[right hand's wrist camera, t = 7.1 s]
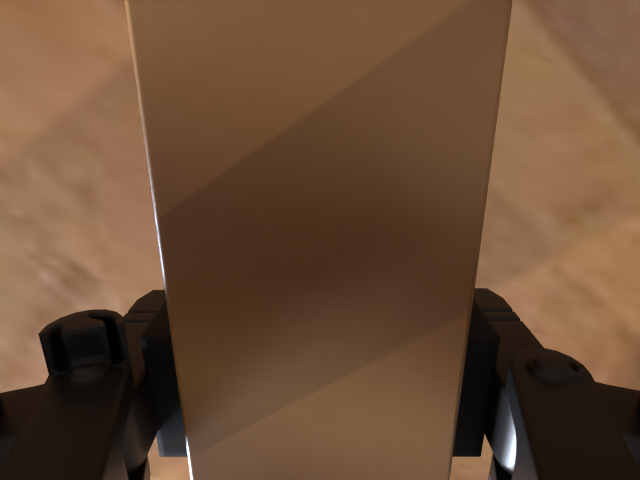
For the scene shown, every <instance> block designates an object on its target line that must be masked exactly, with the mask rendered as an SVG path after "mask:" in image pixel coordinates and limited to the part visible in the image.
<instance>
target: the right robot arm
mask: <svg viewBox="0 0 640 480" xmlns="http://www.w3.org/2000/svg"><path fill="white" fill-rule="evenodd" d="M39 337H40V341H41V345H42V349H43V353H44V357H45V361H46V364H47V368H48V372H49V376H48V378H47V380H46V382H45V384H42V385H39V386H34V387H29V388H24V389H19V390H14V391H9V392H4V393H0V480H150V467H149V461H148V455H147V454H148V452H149V450H150V447H151V445H152V443H153V441H154V439H155V436H157V442H158V449H159V455H160V457H188V455H187V448H186V441H185V433H184V426H183V419H182V412H181V404H180V397H179V390H178V383H177V376H176V368H175V361H174V354H173V347H172V339H171V332H170V325H169V318H168V310H167V303H166V296H165V290H153V291H151V292H149V293H148V294H146V295H144V296H143V297H141V298H139V299H138V300H137V301H136V302H135V303H134V305H133V306H132V307H131V308H130V310H129V311H128V313H126V314H125V316H124V317H122V316H121V315H120V314H118V313H117V312H115V311H110V310H105V309H104V310H87V311H82V312H77V313H73V314H70V315H67V316H65V317H62V318H59V319H57V320H56V321H54V322H52V323H50V324H49V325H47V326H46V327H45V328H44V329H43V330H42V331H41V332H40V333H39ZM484 433H485V435H486V438H487V440H488V442H489V444H490V446H491V449H492V451H493V455H492V461H491V467H490V472H489V478H488V480H640V391H637V390H632V389H627V388H622V387H617V386H611V385H606V384H602V383H598V382H595V381H594V379H593V377H592V375H591V374H590V373H589V371H588V370H587V369H586V368H585V367H584V365H582V364H581V363H579V362H578V361H576V360H575V359H573V358H572V357H570V356H567V355H565V354H563V353H560V352H558V351H554V350H550V349H545V348H544V347H543V346H542V345H541V344H540V343H539V341H538V340H537V339H536V338H535V336H534V335H533V334H532V333H531V332H530V330H529V329H528V328H527V327H526V325H525V324H524V323H523V322H522V321H520V318H519V317H518V316H517V314H516V313H515V312H512V308H511V307H510V306H509V305H508V304H507V302H506V301H505V300H504V299H503V298H502V297H500V296H499V295H497V294H495V293H494V292H492V291H490V290H489V289H487V288H475V289H474V297H473V305H472V312H471V320H470V327H469V335H468V343H467V350H466V358H465V366H464V373H463V381H462V388H461V396H460V404H459V411H458V419H457V427H456V434H455V442H454V449H453V457H481V451H482V445H483V439H484Z"/></svg>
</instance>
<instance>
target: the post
mask: <svg viewBox="0 0 640 480" xmlns="http://www.w3.org/2000/svg"><path fill="white" fill-rule="evenodd" d="M125 7H126V14H127V21H128V29H129V36H130V43H131V50H132V57H133V65H134V72H135V79H136V86H137V94H138V101H139V108H140V115H141V122H142V130H143V137H144V144H145V151H146V159H147V166H148V173H149V180H150V188H151V195H152V202H153V209H154V216H155V224H156V231H157V238H158V245H159V253H160V260H161V267H162V274H163V282H164V289H165V296H166V303H167V310H168V318H169V325H170V332H171V339H172V347H173V354H174V361H175V368H176V376H177V383H178V390H179V397H180V404H181V412H182V419H183V426H184V433H185V441H186V448H187V455H188V462H189V470H190V477H191V480H450V472H451V465H452V457H453V449H454V442H455V434H456V427H457V419H458V411H459V404H460V396H461V388H462V381H463V373H464V366H465V358H466V350H467V343H468V335H469V327H470V320H471V312H472V305H473V297H474V289H475V282H476V274H477V266H478V259H479V251H480V244H481V236H482V228H483V221H484V213H485V205H486V198H487V190H488V183H489V175H490V167H491V160H492V152H493V145H494V137H495V129H496V122H497V114H498V106H499V99H500V91H501V84H502V76H503V68H504V61H505V53H506V45H507V38H508V30H509V23H510V15H511V7H512V0H125Z"/></svg>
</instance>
